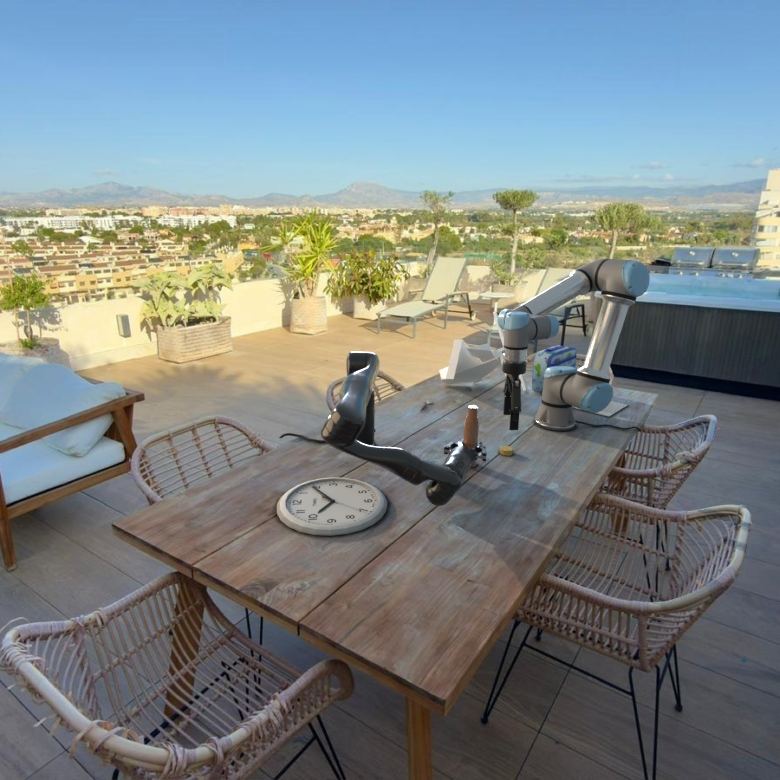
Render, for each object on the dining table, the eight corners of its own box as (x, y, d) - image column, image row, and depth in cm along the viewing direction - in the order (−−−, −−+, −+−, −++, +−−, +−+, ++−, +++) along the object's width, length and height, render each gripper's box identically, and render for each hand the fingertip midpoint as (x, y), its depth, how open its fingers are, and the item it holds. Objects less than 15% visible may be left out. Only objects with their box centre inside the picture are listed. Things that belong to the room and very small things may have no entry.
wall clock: (392, 527, 129) (268, 531, 127) (391, 533, 130) (269, 537, 127) (383, 473, 158) (282, 475, 155) (383, 478, 158) (282, 480, 156)
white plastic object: (461, 429, 252) (437, 405, 227) (444, 352, 274) (420, 323, 250) (535, 404, 240) (518, 377, 215) (510, 326, 262) (492, 293, 237)
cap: (512, 456, 176) (512, 451, 175) (499, 454, 177) (499, 449, 176) (512, 451, 180) (513, 446, 179) (500, 449, 181) (500, 445, 180)
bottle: (467, 468, 166) (471, 410, 160) (458, 462, 170) (462, 405, 164) (478, 465, 168) (483, 407, 162) (470, 460, 172) (474, 403, 166)
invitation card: (608, 416, 214) (573, 407, 224) (608, 416, 214) (573, 408, 224) (628, 404, 229) (594, 396, 238) (628, 405, 229) (594, 397, 238)
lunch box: (548, 398, 236) (553, 353, 229) (527, 393, 243) (531, 349, 237) (575, 387, 253) (581, 344, 247) (555, 382, 260) (560, 341, 254)
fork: (417, 411, 216) (418, 406, 216) (428, 400, 231) (428, 395, 230) (423, 412, 215) (424, 407, 215) (434, 400, 230) (434, 396, 229)
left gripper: (483, 455, 151) (495, 434, 166) (436, 447, 156) (451, 428, 171) (481, 478, 153) (493, 456, 168) (435, 470, 158) (450, 449, 173)
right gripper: (497, 351, 180) (494, 408, 187) (508, 371, 157) (504, 436, 163) (519, 351, 180) (515, 409, 187) (534, 371, 156) (528, 436, 163)
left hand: (472, 442), depth 169 cm, fingers closed on bottle, 4 cm apart
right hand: (510, 422), depth 175 cm, fingers open, 13 cm apart
